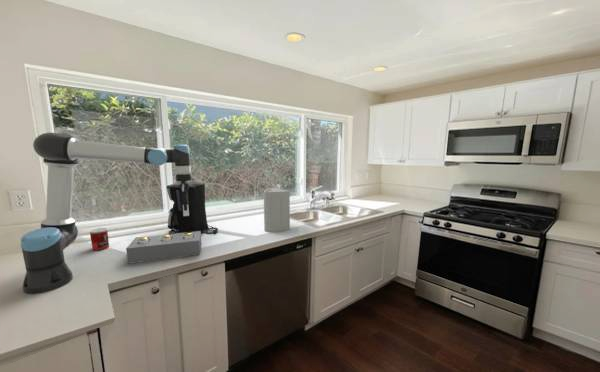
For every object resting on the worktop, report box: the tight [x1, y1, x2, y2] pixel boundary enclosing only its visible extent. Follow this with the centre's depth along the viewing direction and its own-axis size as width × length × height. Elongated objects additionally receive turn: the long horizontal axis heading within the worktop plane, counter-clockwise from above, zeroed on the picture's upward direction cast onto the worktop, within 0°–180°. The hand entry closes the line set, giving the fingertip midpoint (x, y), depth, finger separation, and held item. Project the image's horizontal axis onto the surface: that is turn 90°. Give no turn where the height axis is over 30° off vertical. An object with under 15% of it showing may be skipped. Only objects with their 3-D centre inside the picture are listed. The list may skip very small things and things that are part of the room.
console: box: [125, 231, 202, 264], centre depth 138 cm, size 16×34×8 cm, turn 108°
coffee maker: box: [166, 181, 219, 235], centre depth 172 cm, size 23×32×34 cm
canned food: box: [89, 227, 110, 252], centre depth 144 cm, size 8×8×11 cm
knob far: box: [184, 232, 193, 239], centre depth 141 cm, size 4×4×8 cm
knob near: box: [139, 235, 149, 243], centre depth 134 cm, size 4×4×8 cm
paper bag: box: [263, 187, 291, 233], centre depth 176 cm, size 19×15×28 cm
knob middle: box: [162, 233, 172, 241], centre depth 138 cm, size 4×4×8 cm
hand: (186, 215), depth 139 cm, fingers closed
